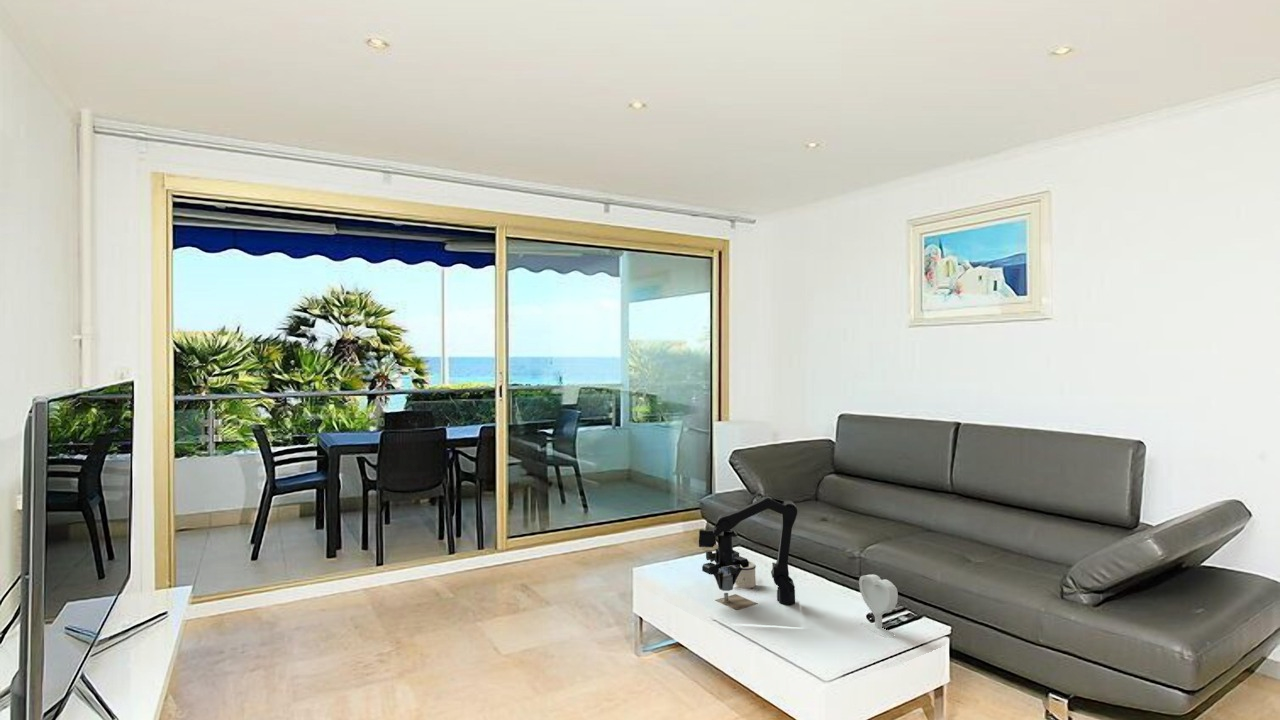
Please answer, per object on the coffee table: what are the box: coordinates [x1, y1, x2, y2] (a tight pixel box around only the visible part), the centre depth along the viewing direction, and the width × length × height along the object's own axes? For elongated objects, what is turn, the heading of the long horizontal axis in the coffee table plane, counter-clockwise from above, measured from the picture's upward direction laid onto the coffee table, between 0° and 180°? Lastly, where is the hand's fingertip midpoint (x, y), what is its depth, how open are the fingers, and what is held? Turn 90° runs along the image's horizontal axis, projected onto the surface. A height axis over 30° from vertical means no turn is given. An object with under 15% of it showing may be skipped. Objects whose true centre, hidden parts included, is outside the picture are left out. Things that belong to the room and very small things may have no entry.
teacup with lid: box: [734, 557, 757, 589], centre depth 284 cm, size 12×9×12 cm
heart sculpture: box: [858, 574, 899, 638], centre depth 238 cm, size 16×5×18 cm, turn 21°
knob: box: [718, 574, 734, 592], centre depth 266 cm, size 5×5×5 cm
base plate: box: [714, 592, 759, 611], centre depth 265 cm, size 13×11×4 cm
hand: (726, 587), depth 266 cm, fingers closed on knob, 5 cm apart
